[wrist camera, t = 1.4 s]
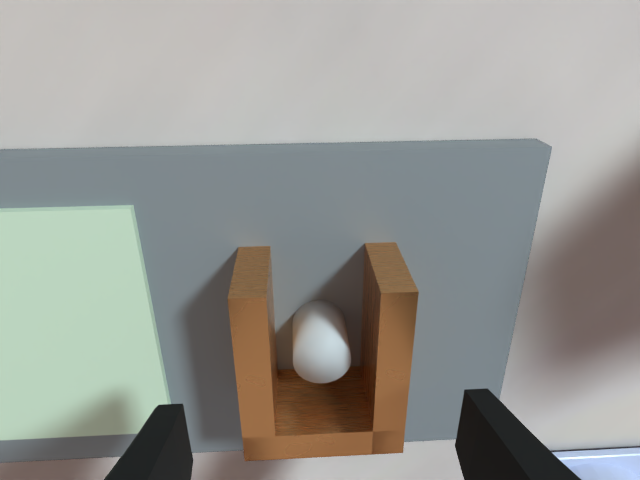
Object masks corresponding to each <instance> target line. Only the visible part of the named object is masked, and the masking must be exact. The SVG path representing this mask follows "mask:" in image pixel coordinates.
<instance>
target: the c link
mask: <svg viewBox="0 0 640 480" xmlns="http://www.w3.org/2000/svg"><path fill="white" fill-rule="evenodd" d="M418 295H419V291H418V289H417V287H416V285H415V283H414V280H413V278H412V276H411V274H410V272H409V270H408V267H407V265H406V263H405V261H404V259H403V257H402V254H401V252H400V250H399V248H398V246H397V244H396V242H382V243H365V251H364V276H363V302H362V327H361V353H360V366H350V367H349V369H348V370H347V372H346V373H345V374H344V375H343V376H342V377H340V378H339V379H337V380H335V381H332V382H328V383H313V382H309V381H307V380H305V379H303V378H302V377H300V376H299V375H298V374H297V372H296V371H295V369H281V370H278V368H277V351H276V333H275V316H274V298H273V281H272V263H271V246H252V247H239V248H238V252H237V257H236V262H235V266H234V271H233V275H232V280H231V285H230V289H229V294H228V308H229V318H230V327H231V337H232V346H233V355H234V365H235V374H236V383H237V393H238V402H239V412H240V421H241V430H242V440H243V449H244V458H245V461H256V460H274V459H293V458H312V457H331V456H350V455H369V454H388V453H403V446H404V436H405V426H406V416H407V406H408V395H409V385H410V375H411V365H412V355H413V345H414V335H415V325H416V315H417V305H418Z"/></svg>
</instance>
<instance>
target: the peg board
mask: <svg viewBox="0 0 640 480" xmlns="http://www.w3.org/2000/svg"><path fill="white" fill-rule="evenodd" d="M551 149H552V147H551V146H549V145H547V144H545V143H544V142H542V141H540V140H538V139H500V140H450V141H401V142H351V143H301V144H251V145H202V146H152V147H102V148H52V149H2V150H0V463H5V462H25V461H44V460H63V459H83V458H102V457H121V456H122V455H123V454H124V452H125V451H126V450H127V448H128V447H129V445H130V444H131V443H132V441H133V440H134V438H135V437H136V435H137V434H138V433H139V431H140V430H141V428H142V427H143V425H144V424H145V422H146V421H147V419H148V418H149V416H150V415H151V413H152V412H153V410H154V409H155V408H156V407H157V406H158V405H163V404H183V406H184V411H185V417H186V423H187V429H188V434H189V440H190V446H191V451H192V453H198V452H218V451H237V450H244V449H243V440H242V430H241V421H240V412H239V402H238V393H237V383H236V374H235V365H234V355H233V346H232V337H231V327H230V318H229V308H228V294H229V289H230V285H231V280H232V275H233V271H234V266H235V262H236V257H237V252H238V248H239V247H252V246H271V263H272V281H273V298H274V316H275V333H276V351H277V368H278V370H281V369H295V371H296V372H297V374H298V375H299V376H300V377H302V378H303V379H305V380H307V381H309V382H313V383H328V382H332V381H335V380H337V379H339V378H340V377H342V376H343V375H344V374H345V373H346V372H347V370H348V369H349V367H350V366H360V353H361V327H362V302H363V276H364V251H365V243H382V242H396V244H397V246H398V248H399V250H400V252H401V254H402V257H403V259H404V261H405V263H406V265H407V267H408V270H409V272H410V274H411V276H412V278H413V280H414V283H415V285H416V287H417V289H418V291H419V295H418V305H417V315H416V325H415V335H414V345H413V355H412V365H411V375H410V385H409V395H408V406H407V416H406V426H405V436H404V442H411V441H430V440H450V439H456V437H457V431H458V425H459V419H460V413H461V407H462V401H463V395H464V390H466V389H486V388H488V389H489V390H490V391H491V392H492V393H493V394H494V395H495V396H496V397H497V398H498V399H499V398H500V393H501V388H502V383H503V378H504V374H505V369H506V364H507V359H508V355H509V350H510V345H511V340H512V335H513V331H514V326H515V321H516V316H517V312H518V307H519V302H520V297H521V293H522V288H523V283H524V278H525V273H526V269H527V264H528V259H529V254H530V250H531V245H532V240H533V235H534V230H535V226H536V221H537V216H538V211H539V207H540V202H541V197H542V192H543V187H544V183H545V178H546V173H547V168H548V164H549V159H550V154H551Z"/></svg>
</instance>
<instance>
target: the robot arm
mask: <svg viewBox="0 0 640 480" xmlns="http://www.w3.org/2000/svg"><path fill="white" fill-rule="evenodd" d="M455 448H456V451H457V455H458V459H459V462H460V466H461V470H462V473H463V476H464V480H640V447H639V448H620V449H602V450H583V451H565V452H551V451H550V450H549V449H548V448H547V447H546V446H544V445H543V444H542V443H541V442H540V441H539V440H538V439H537V438H536V437H535V436H534V435H533V434H532V433H531V432H530V431H529V430H528V429H527V428H526V427H525V426H524V425H523V424H522V423H521V422H520V421H519V420H518V419H517V418H516V417H515V416H514V415H513V414H512V413H511V412H510V411H509V410H508V409H507V408H506V407H505V406H504V404H503V403H502V402H501V401H500V400H499V399H498V398H497V397H496V396H495V395H494V394H493V393H492V392H491V391H490V390H489V389H488V388H486V389H466V390H464V395H463V401H462V407H461V413H460V419H459V425H458V431H457V437H456V443H455ZM192 465H193V457H192V451H191V446H190V440H189V434H188V429H187V423H186V417H185V411H184V406H183V404H163V405H158V406H157V407H156V408H155V409H154V410H153V412H152V413H151V415H150V416H149V418H148V419H147V421H146V422H145V424H144V425H143V427H142V428H141V430H140V431H139V433H138V434H137V435H136V437H135V438H134V440H133V441H132V443H131V444H130V445H129V447H128V448H127V450H126V451H125V452H124V454H123V455H122V456H121V458H120V459H119V460H118V462H117V463H116V464H115V466H114V467H113V468H112V470H111V471H110V472H109V474H108V475H107V476H106V478H105V479H104V480H191V473H192Z"/></svg>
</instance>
